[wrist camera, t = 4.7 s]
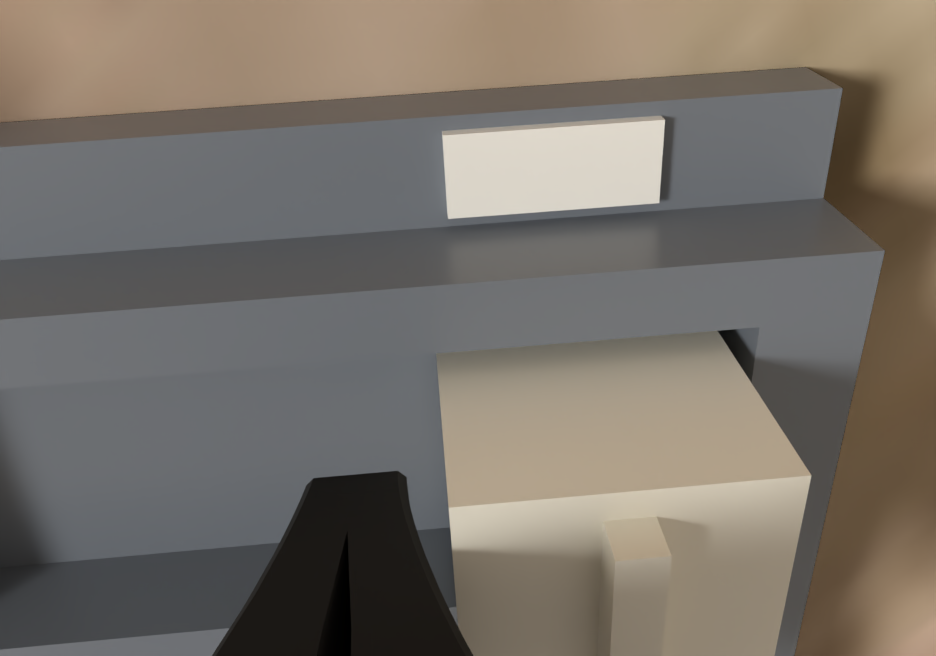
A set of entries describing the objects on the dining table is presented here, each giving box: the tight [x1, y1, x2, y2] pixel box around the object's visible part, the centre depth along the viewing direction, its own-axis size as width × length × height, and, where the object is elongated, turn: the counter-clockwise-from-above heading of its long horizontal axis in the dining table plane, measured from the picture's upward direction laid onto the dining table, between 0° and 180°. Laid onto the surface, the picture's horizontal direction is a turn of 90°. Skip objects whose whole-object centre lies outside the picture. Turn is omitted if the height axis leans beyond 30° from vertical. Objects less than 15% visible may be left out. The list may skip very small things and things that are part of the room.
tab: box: [436, 331, 812, 656], centre depth 12 cm, size 4×4×5 cm
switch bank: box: [0, 67, 885, 656], centre depth 15 cm, size 18×16×3 cm
